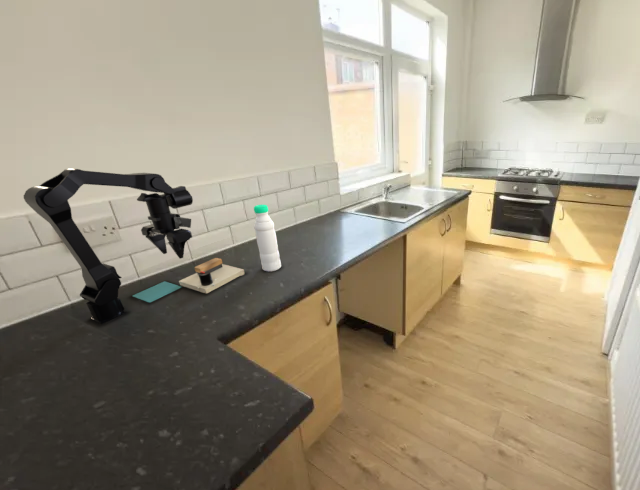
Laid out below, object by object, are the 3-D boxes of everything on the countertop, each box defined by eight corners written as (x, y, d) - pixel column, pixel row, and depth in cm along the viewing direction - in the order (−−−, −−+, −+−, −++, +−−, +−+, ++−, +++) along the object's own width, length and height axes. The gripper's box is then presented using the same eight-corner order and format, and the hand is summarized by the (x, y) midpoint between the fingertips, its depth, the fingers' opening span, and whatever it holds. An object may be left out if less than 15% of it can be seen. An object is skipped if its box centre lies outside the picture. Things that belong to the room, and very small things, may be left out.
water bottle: (284, 264, 126) (274, 203, 116) (277, 272, 120) (265, 208, 110) (267, 264, 127) (255, 203, 117) (259, 272, 121) (246, 208, 110)
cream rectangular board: (206, 296, 105) (204, 290, 105) (177, 287, 112) (176, 281, 111) (246, 274, 119) (245, 269, 118) (219, 267, 125) (217, 262, 124)
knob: (215, 282, 110) (212, 271, 108) (206, 286, 107) (202, 275, 105) (208, 280, 112) (205, 269, 110) (199, 284, 109) (195, 273, 107)
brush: (202, 277, 114) (199, 268, 112) (196, 275, 115) (194, 267, 114) (223, 266, 121) (221, 258, 120) (217, 265, 122) (215, 257, 121)
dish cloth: (150, 303, 102) (149, 302, 102) (132, 296, 106) (131, 295, 106) (182, 287, 111) (182, 286, 111) (165, 282, 115) (164, 281, 115)
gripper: (201, 209, 107) (211, 252, 113) (167, 203, 115) (179, 244, 121) (167, 218, 98) (181, 264, 104) (133, 211, 105) (148, 254, 112)
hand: (173, 255), depth 110 cm, fingers open, 9 cm apart
